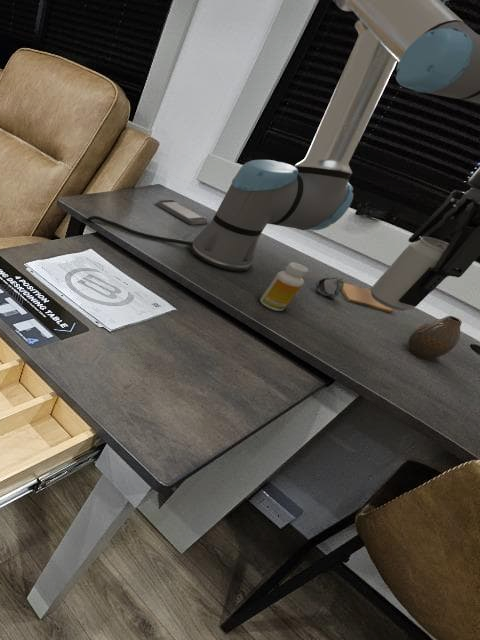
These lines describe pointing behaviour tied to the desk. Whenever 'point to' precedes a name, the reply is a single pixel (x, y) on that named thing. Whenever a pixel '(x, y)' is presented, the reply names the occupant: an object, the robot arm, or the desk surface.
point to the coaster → (362, 297)
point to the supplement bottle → (284, 287)
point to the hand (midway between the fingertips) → (398, 292)
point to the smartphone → (182, 212)
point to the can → (407, 271)
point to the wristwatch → (321, 287)
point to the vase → (435, 337)
